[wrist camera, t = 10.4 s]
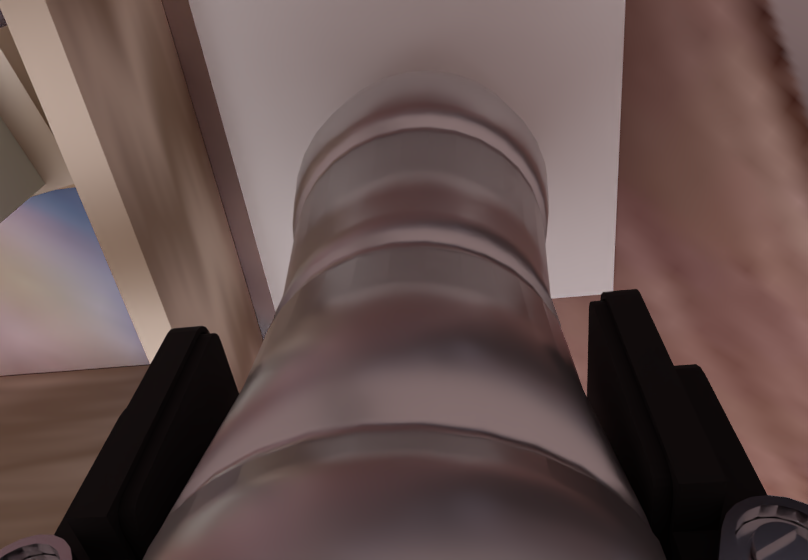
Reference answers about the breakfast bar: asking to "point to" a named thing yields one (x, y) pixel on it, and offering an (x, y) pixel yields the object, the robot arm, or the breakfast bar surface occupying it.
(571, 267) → the pad
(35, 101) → the block
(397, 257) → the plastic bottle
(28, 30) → the frame
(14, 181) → the offcut top
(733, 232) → the breakfast bar surface
